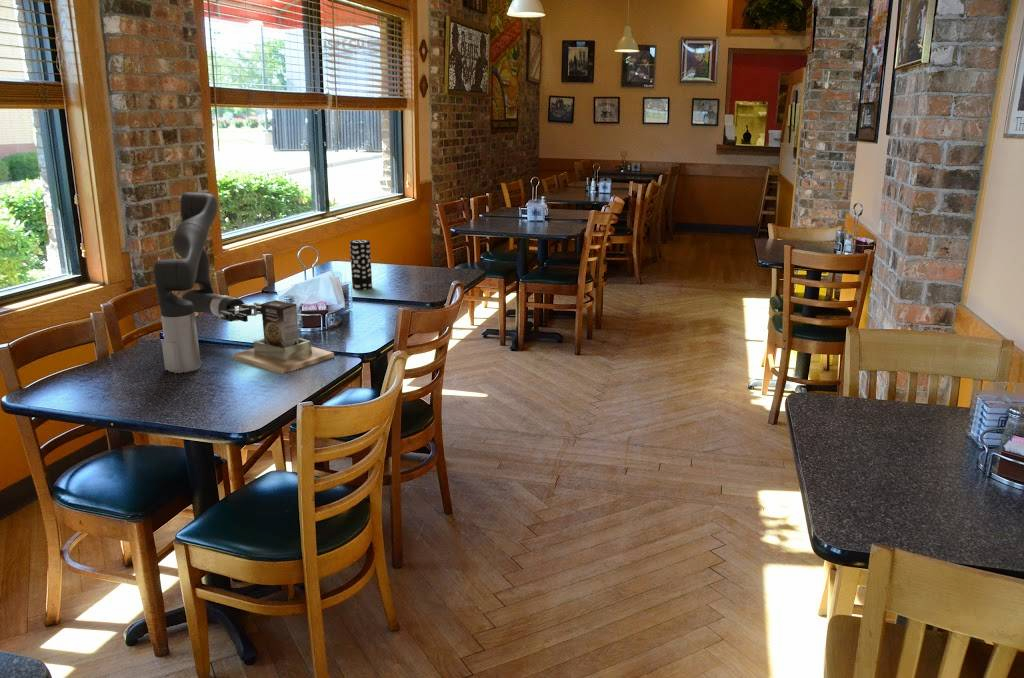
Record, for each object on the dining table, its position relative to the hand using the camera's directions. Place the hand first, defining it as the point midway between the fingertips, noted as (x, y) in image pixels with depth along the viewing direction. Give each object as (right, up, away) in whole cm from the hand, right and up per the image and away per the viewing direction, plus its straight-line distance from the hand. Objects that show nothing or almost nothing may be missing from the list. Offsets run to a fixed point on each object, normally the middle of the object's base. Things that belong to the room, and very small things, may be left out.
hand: (258, 315), depth 251 cm
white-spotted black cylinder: (+17, +14, +87) cm, 89 cm away
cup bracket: (+9, -13, -3) cm, 16 cm away
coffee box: (+9, -12, -3) cm, 15 cm away
